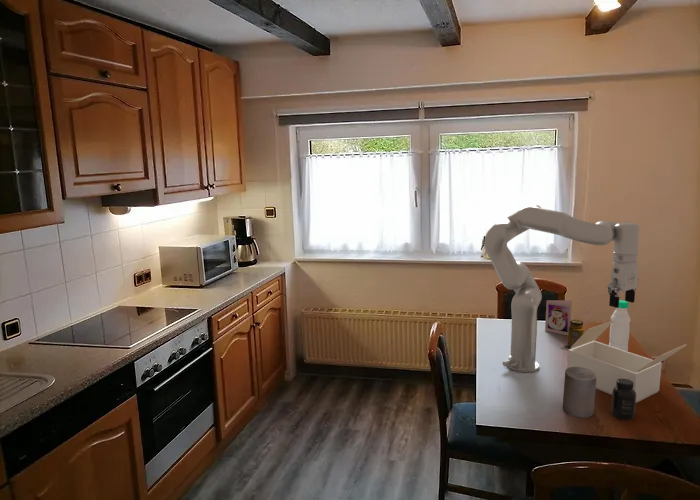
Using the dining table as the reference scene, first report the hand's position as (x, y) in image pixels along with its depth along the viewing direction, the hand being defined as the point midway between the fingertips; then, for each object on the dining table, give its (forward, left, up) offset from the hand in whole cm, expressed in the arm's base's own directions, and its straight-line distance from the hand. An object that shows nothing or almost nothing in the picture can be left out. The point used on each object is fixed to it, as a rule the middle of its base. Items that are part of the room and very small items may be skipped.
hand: (621, 304), depth 187 cm
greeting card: (+29, +45, -31) cm, 62 cm away
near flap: (-2, -16, -14) cm, 22 cm away
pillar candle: (-29, -5, -31) cm, 43 cm away
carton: (-2, 0, -31) cm, 31 cm away
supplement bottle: (-20, -15, -31) cm, 40 cm away
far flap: (-2, +9, -14) cm, 17 cm away
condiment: (+17, +29, -31) cm, 46 cm away
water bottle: (+20, +11, -31) cm, 38 cm away
